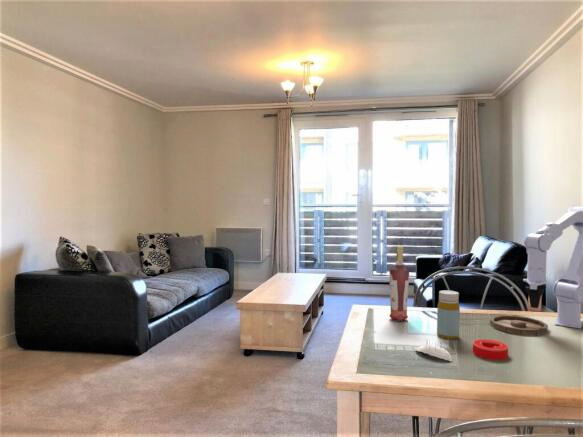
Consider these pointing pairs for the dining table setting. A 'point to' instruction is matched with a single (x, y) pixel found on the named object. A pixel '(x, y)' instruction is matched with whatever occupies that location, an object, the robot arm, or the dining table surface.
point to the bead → (534, 308)
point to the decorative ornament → (490, 349)
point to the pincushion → (435, 351)
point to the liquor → (399, 288)
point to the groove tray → (519, 325)
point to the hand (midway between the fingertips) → (535, 306)
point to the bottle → (448, 314)
